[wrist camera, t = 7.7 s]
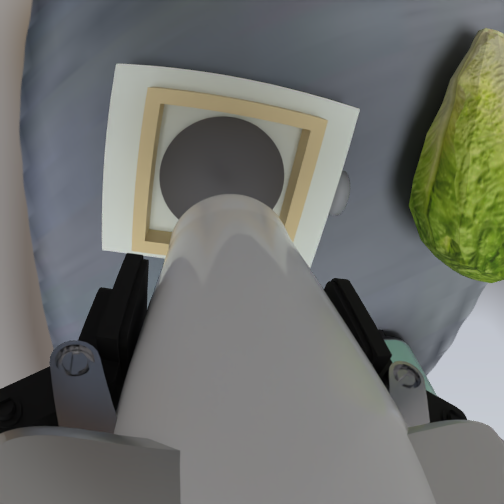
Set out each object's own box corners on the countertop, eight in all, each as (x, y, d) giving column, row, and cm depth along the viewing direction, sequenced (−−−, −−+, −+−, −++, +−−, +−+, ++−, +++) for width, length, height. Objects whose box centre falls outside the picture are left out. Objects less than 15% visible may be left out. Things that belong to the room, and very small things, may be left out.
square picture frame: (129, 65, 22) (107, 62, 16) (352, 107, 25) (385, 117, 20) (113, 228, 29) (95, 262, 24) (308, 254, 33) (325, 290, 27)
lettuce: (511, 69, 24) (587, 61, 11) (478, 255, 33) (543, 308, 20) (408, 21, 24) (471, -23, 12) (376, 235, 33) (426, 295, 21)
